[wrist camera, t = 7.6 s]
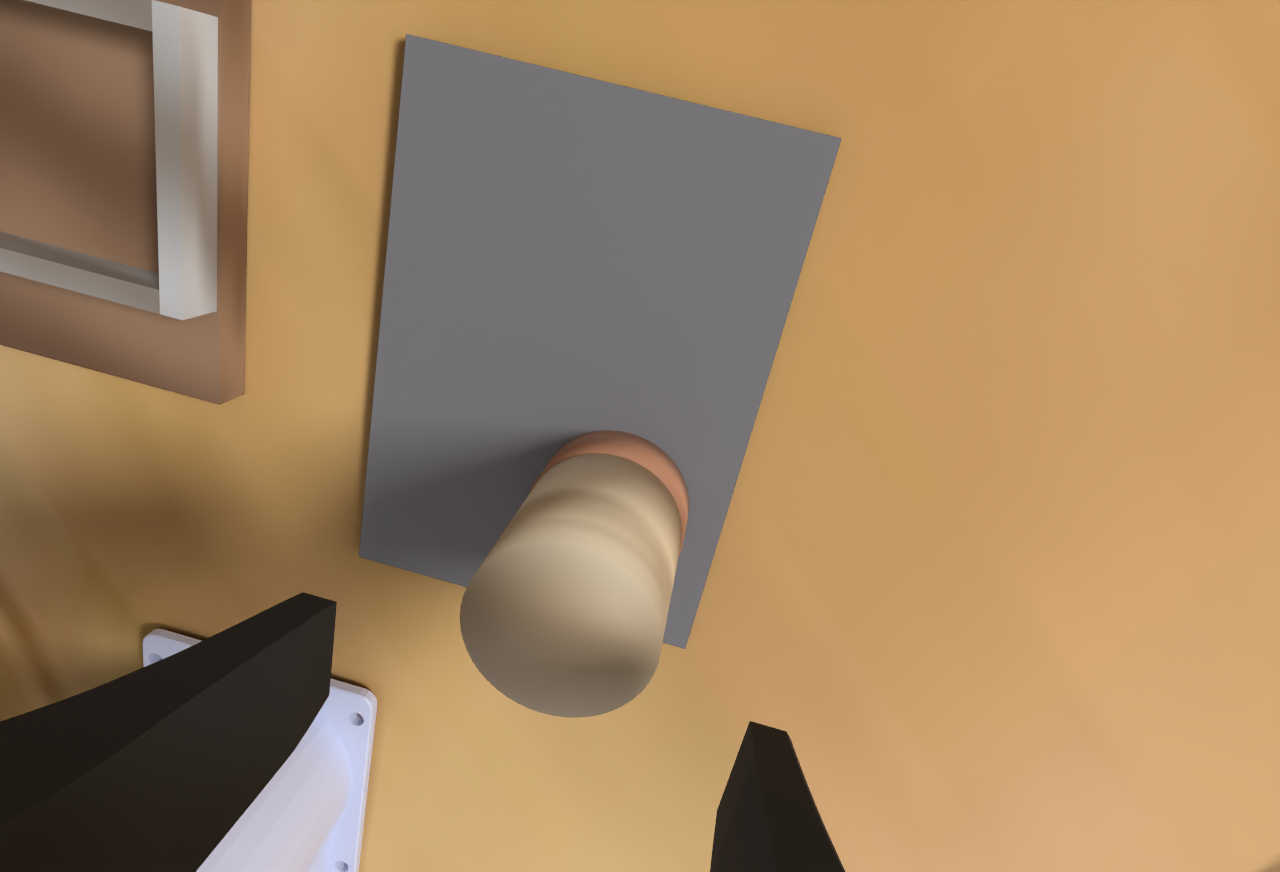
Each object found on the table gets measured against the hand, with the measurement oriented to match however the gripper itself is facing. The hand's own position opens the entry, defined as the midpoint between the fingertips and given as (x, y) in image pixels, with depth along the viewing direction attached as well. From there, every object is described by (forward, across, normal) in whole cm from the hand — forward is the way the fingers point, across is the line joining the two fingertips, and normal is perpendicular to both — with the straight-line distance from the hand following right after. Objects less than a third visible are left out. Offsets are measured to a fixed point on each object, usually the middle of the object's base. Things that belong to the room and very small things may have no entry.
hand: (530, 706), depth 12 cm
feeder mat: (+8, +2, -3) cm, 9 cm away
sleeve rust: (+8, 0, 0) cm, 8 cm away
